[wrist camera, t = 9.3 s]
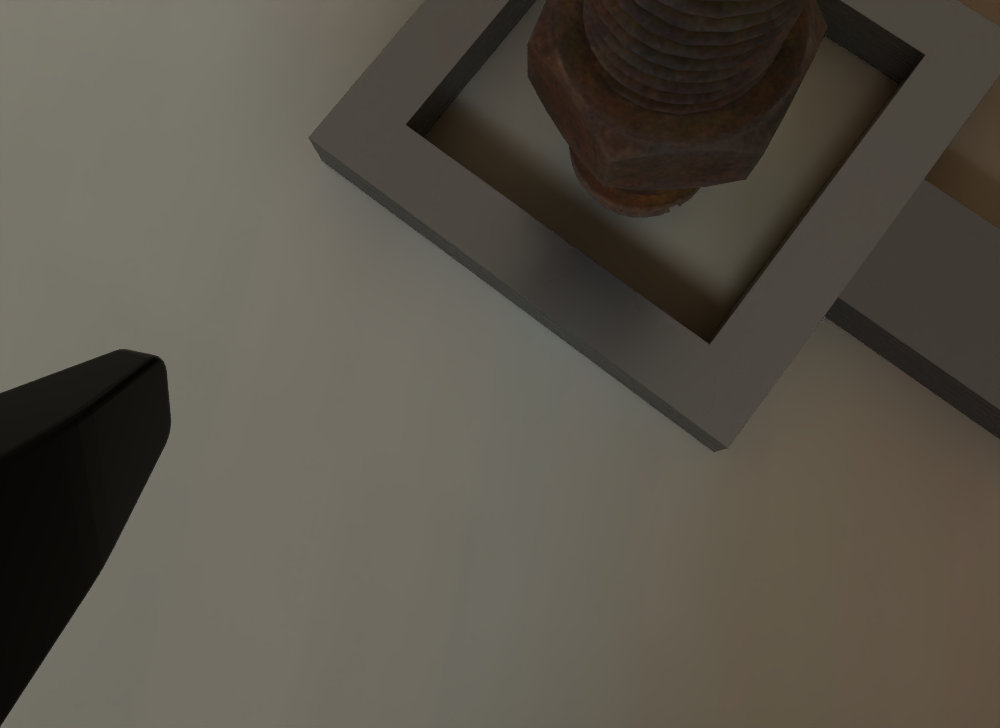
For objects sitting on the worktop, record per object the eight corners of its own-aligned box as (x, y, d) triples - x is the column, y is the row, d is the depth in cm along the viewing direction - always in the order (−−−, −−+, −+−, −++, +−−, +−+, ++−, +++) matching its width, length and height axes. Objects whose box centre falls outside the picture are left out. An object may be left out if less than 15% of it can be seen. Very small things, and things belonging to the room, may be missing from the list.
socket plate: (1207, 208, 18) (1256, 187, 17) (934, 616, 17) (966, 624, 15) (605, -175, 20) (610, -218, 19) (322, 160, 19) (308, 138, 17)
